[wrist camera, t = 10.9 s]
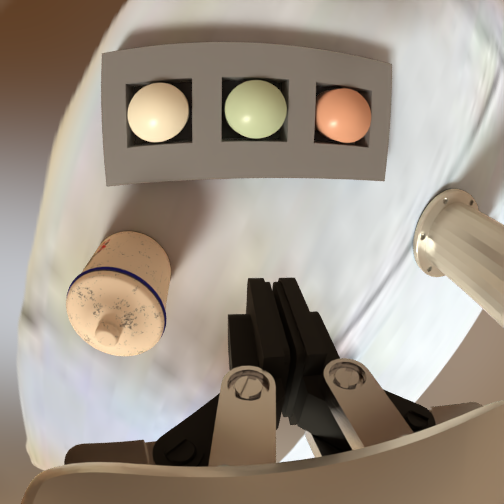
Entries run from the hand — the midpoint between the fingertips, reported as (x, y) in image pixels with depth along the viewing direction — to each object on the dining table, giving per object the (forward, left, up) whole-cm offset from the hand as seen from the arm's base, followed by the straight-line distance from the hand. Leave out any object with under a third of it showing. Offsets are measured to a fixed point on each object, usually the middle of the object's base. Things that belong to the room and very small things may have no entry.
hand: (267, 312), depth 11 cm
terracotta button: (-10, -7, -19) cm, 23 cm away
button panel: (-2, -7, -20) cm, 21 cm away
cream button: (+6, -7, -19) cm, 22 cm away
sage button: (-2, -7, -19) cm, 21 cm away
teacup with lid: (+11, +10, -20) cm, 25 cm away
